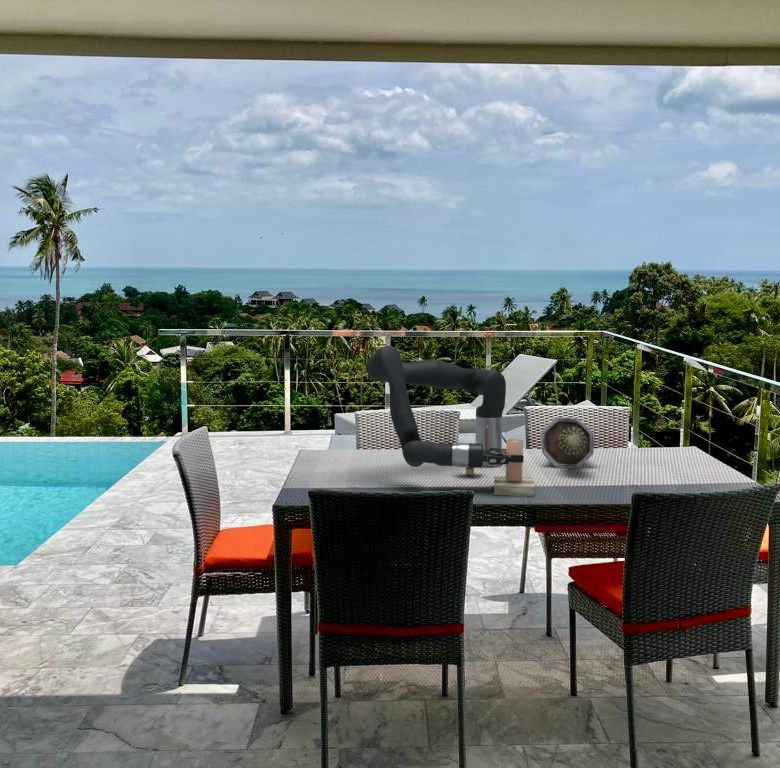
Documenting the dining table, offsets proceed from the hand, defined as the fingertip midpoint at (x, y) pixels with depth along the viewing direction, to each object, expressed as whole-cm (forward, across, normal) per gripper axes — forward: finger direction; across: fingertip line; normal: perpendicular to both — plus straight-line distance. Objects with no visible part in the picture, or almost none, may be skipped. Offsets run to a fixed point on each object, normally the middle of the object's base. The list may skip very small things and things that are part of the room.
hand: (522, 457), depth 259 cm
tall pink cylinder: (-3, 0, +7) cm, 7 cm away
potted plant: (+16, +33, +11) cm, 38 cm away
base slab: (-3, 0, +11) cm, 11 cm away
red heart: (-17, +18, +11) cm, 27 cm away
